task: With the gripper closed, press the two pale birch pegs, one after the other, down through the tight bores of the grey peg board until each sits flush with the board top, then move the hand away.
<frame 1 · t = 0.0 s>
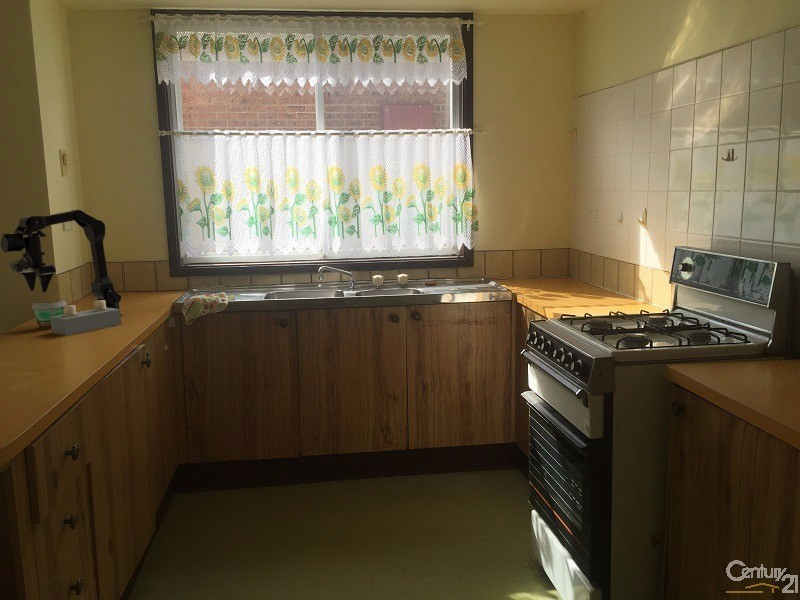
hand: (38, 291, 268), 15 cm above the counter, fingers open, 9 cm apart
birch peg a: (100, 308, 273), point 7 cm above the counter, slide at 3.5 cm
food container: (50, 328, 273), on the counter
grey peg board: (87, 328, 269), on the counter
birch peg b: (70, 314, 263), point 7 cm above the counter, slide at 3.5 cm
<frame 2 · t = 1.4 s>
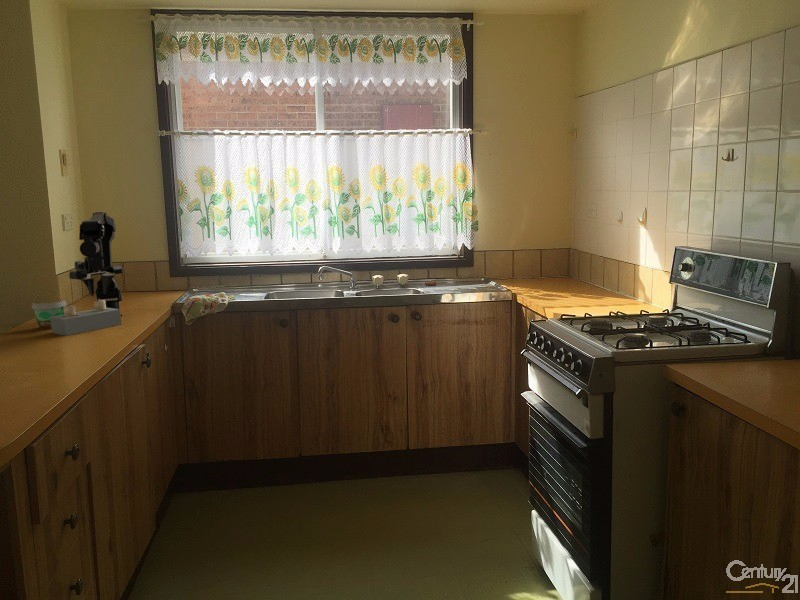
hand: (98, 294, 272), 12 cm above the counter, fingers open, 5 cm apart
nothing on the counter moved.
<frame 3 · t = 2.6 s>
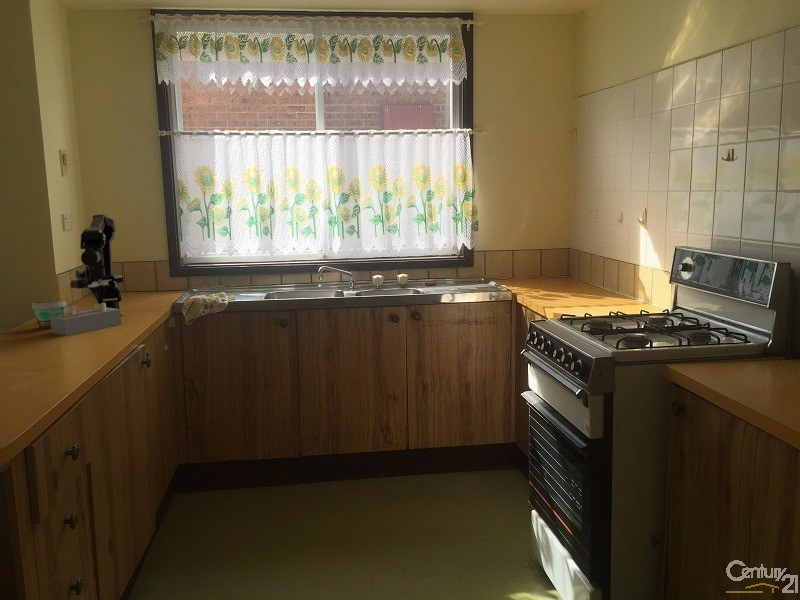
hand: (99, 303, 272), 9 cm above the counter, fingers closed, pressing on birch peg a
birch peg a: (100, 311, 273), point 6 cm above the counter, slide at 2.5 cm, touching gripper
everything else where it was.
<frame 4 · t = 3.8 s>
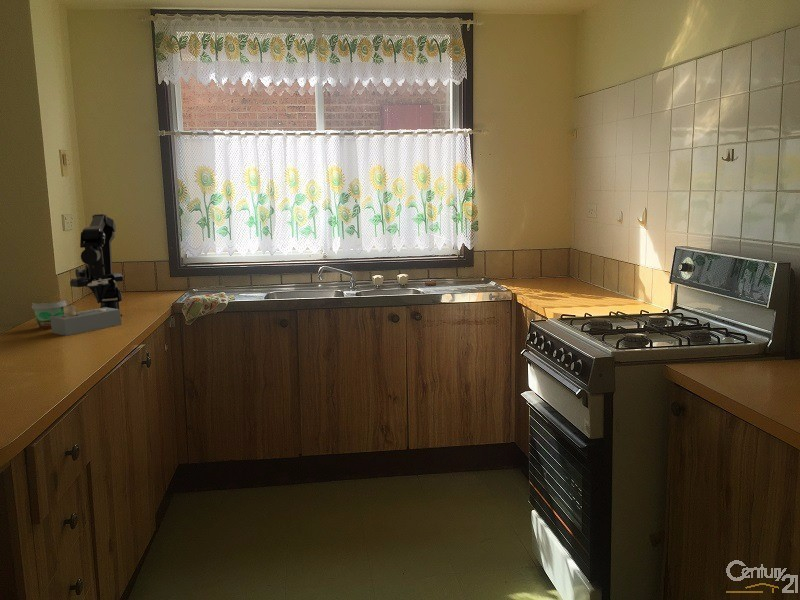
hand: (99, 302, 272), 9 cm above the counter, fingers closed
birch peg a: (101, 317, 273), point 3 cm above the counter, slide at 0.0 cm
everything else where it was.
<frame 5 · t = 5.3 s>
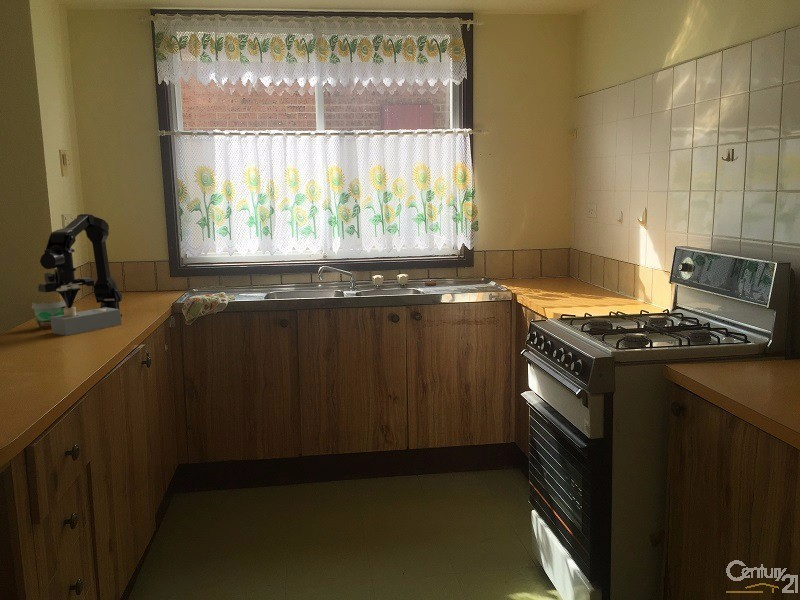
hand: (69, 307, 263), 9 cm above the counter, fingers closed, pressing on birch peg b
birch peg b: (70, 315, 263), point 6 cm above the counter, slide at 2.8 cm, touching gripper
everything else where it was.
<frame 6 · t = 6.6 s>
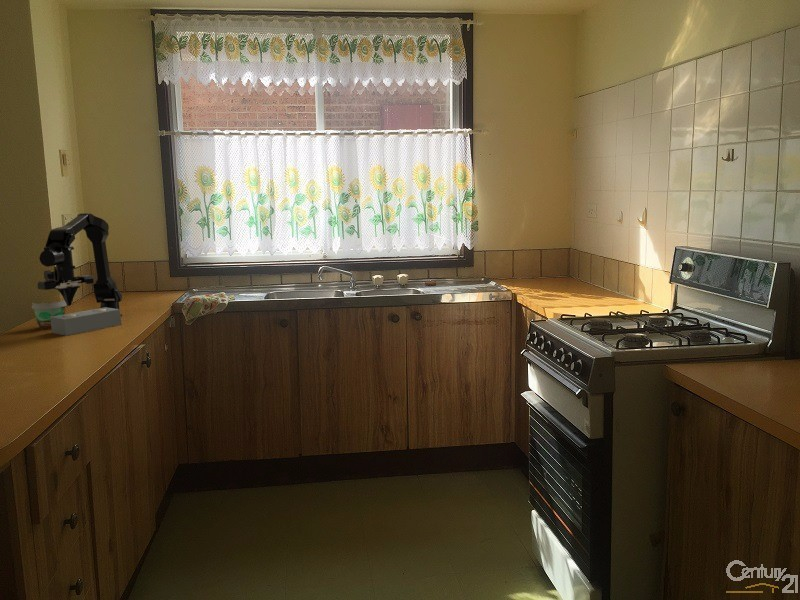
hand: (69, 305, 262), 10 cm above the counter, fingers closed
birch peg b: (71, 323, 264), point 3 cm above the counter, slide at 0.0 cm
everything else where it was.
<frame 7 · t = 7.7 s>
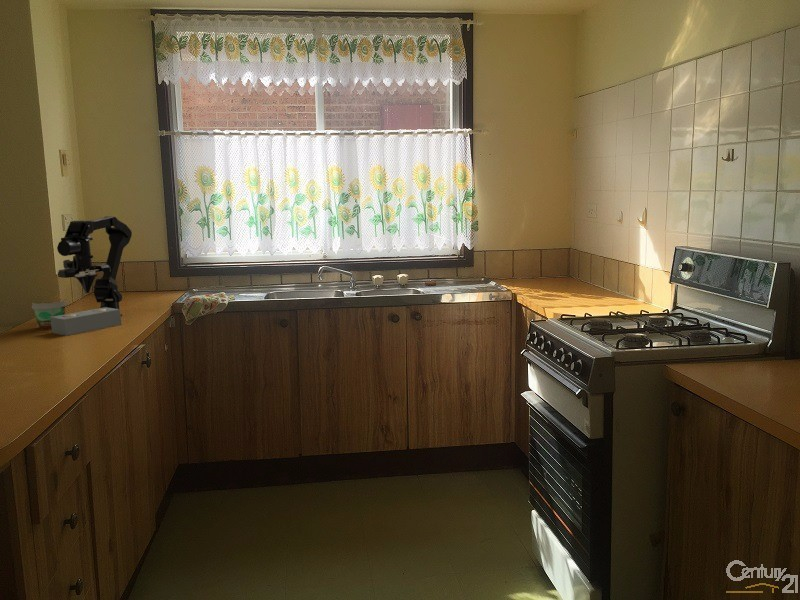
hand: (87, 292, 278), 12 cm above the counter, fingers closed
nothing on the counter moved.
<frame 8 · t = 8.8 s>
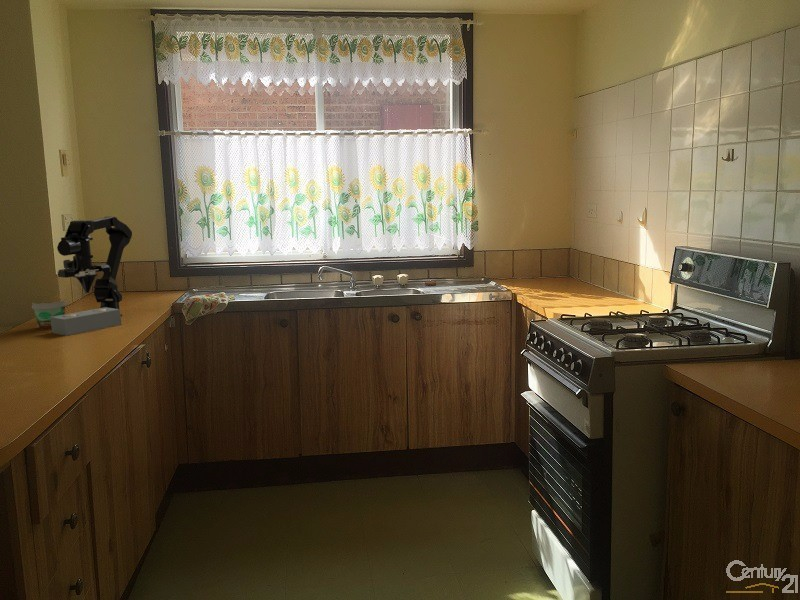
hand: (87, 292, 278), 12 cm above the counter, fingers closed
nothing on the counter moved.
at the end: birch peg a slide at 0.0 cm; birch peg b slide at 0.0 cm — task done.
